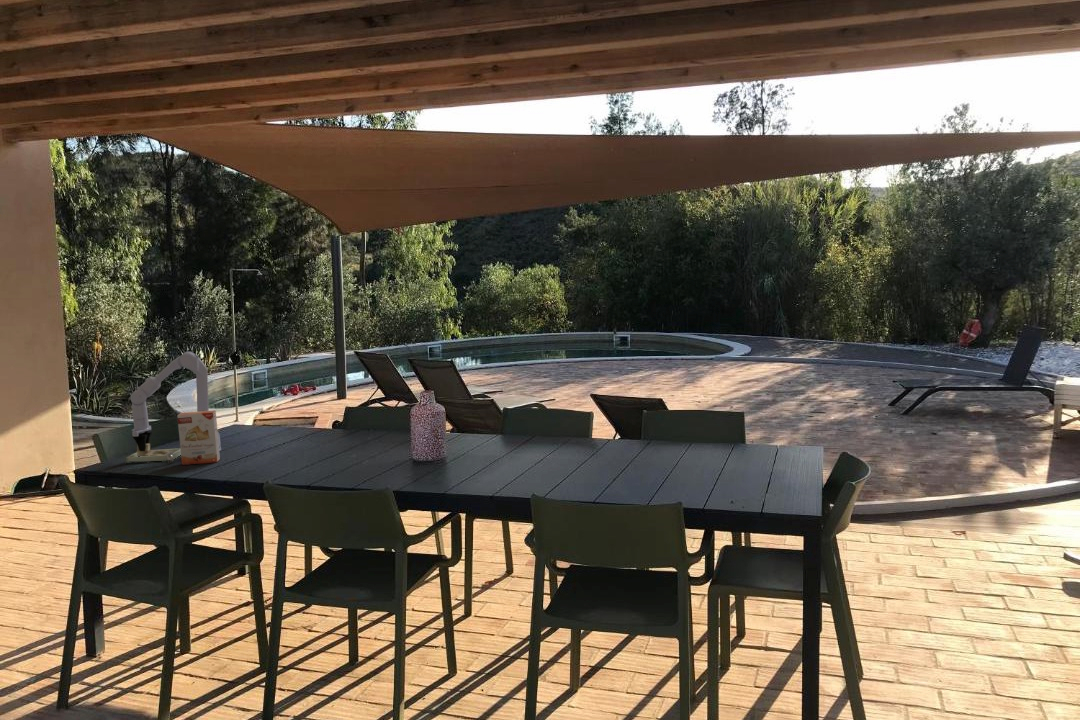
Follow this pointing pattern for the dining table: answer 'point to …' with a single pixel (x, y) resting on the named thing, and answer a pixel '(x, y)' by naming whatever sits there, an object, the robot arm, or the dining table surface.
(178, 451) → the tray
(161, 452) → the tan joined block frame
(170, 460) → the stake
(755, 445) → the dining table surface
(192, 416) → the cracker box
